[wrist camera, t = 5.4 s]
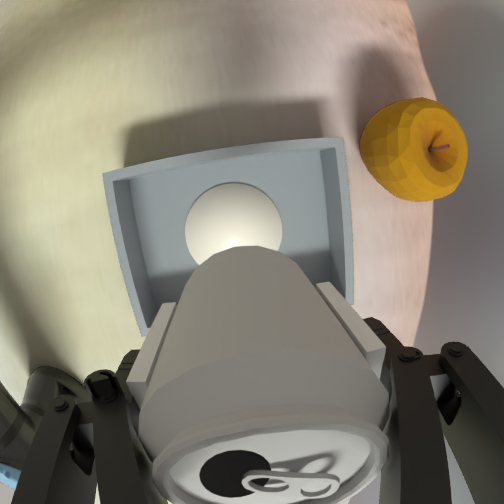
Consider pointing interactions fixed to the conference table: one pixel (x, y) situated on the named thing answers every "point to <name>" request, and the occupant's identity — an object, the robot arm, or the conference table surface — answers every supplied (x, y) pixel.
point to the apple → (415, 149)
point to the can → (260, 392)
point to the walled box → (231, 215)
